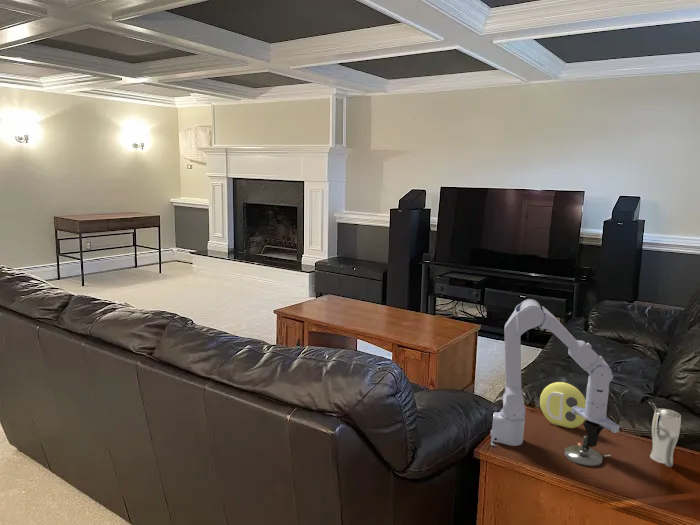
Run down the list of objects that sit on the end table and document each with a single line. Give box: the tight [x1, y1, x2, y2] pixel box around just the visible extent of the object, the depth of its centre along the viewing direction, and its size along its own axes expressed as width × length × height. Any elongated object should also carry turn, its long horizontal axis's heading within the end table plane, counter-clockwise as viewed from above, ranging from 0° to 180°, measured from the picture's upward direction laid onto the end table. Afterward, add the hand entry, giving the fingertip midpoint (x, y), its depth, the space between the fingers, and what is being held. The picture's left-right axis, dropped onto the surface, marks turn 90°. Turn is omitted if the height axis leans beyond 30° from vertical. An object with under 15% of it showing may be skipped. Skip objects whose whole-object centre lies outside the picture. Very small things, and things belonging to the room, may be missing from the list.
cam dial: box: [564, 434, 604, 467], centre depth 156 cm, size 11×10×4 cm
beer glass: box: [649, 408, 682, 468], centre depth 156 cm, size 7×7×15 cm
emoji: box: [539, 381, 586, 429], centre depth 176 cm, size 5×15×15 cm
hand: (591, 445), depth 159 cm, fingers closed, pressing on cam dial
